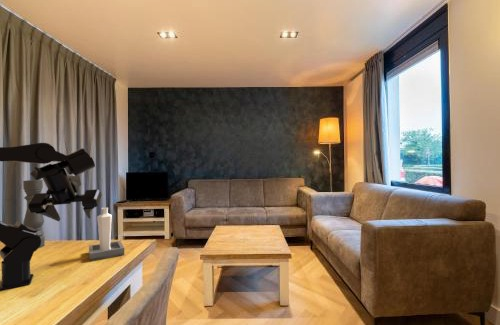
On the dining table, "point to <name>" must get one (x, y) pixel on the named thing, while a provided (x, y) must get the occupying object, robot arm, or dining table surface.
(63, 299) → the dining table surface
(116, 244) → the gray tray
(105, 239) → the perfume bottle
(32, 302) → the dining table surface
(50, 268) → the dining table surface
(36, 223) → the candle holder
